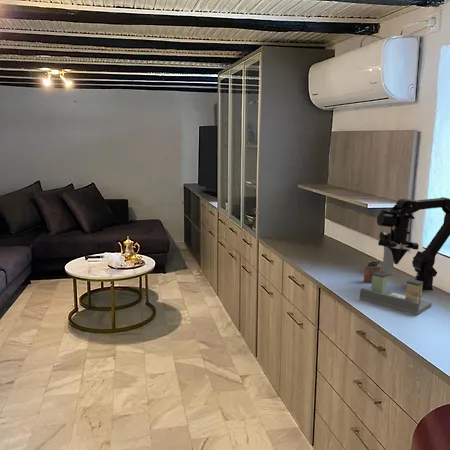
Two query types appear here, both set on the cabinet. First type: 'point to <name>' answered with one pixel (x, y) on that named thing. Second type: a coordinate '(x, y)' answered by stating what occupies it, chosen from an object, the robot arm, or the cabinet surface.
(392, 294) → the switch board
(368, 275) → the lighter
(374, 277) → the sage block
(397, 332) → the cabinet surface
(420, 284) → the beech block
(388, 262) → the grey upright bar
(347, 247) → the cabinet surface
